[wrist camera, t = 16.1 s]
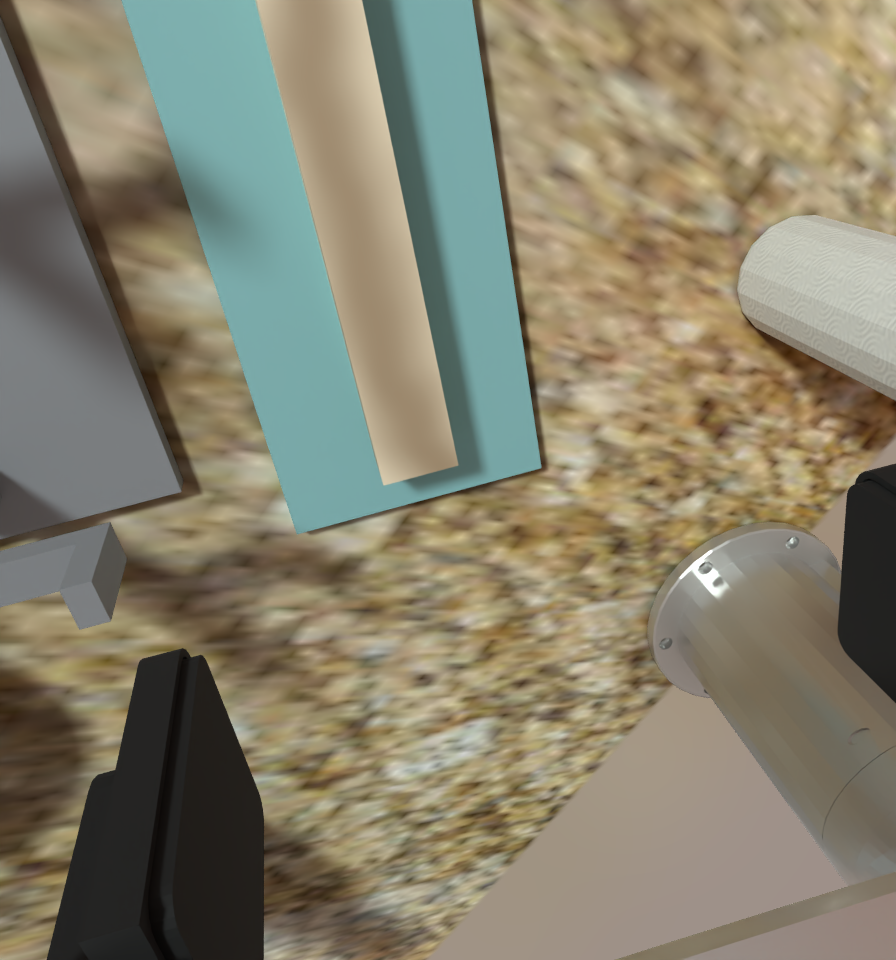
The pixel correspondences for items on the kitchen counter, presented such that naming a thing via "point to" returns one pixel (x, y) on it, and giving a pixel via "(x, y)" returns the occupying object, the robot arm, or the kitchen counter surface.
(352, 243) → the rail
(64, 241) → the rack
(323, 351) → the mat
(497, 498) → the kitchen counter surface
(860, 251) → the paper towel roll
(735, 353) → the kitchen counter surface
